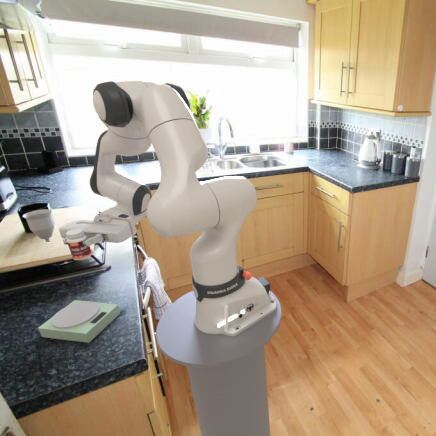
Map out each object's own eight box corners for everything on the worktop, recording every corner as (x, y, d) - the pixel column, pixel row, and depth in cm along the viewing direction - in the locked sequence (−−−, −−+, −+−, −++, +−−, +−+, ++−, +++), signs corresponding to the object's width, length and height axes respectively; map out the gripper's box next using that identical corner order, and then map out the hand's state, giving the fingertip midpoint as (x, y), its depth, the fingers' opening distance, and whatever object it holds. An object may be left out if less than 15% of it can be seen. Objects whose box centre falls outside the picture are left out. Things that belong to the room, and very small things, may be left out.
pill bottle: (74, 262, 92) (64, 236, 89) (71, 256, 95) (63, 231, 92) (93, 257, 95) (85, 232, 92) (90, 250, 98) (83, 226, 95)
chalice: (41, 267, 107) (22, 219, 100) (41, 259, 112) (22, 212, 105) (68, 261, 112) (51, 214, 104) (67, 253, 116) (51, 207, 109)
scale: (77, 308, 90) (74, 298, 88) (120, 313, 89) (117, 302, 87) (41, 337, 80) (36, 326, 78) (89, 342, 79) (85, 331, 77)
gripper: (78, 212, 105) (39, 230, 92) (136, 216, 103) (104, 236, 90) (84, 229, 107) (46, 249, 95) (141, 234, 105) (110, 255, 93)
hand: (75, 243), depth 92 cm, fingers closed on pill bottle, 5 cm apart
